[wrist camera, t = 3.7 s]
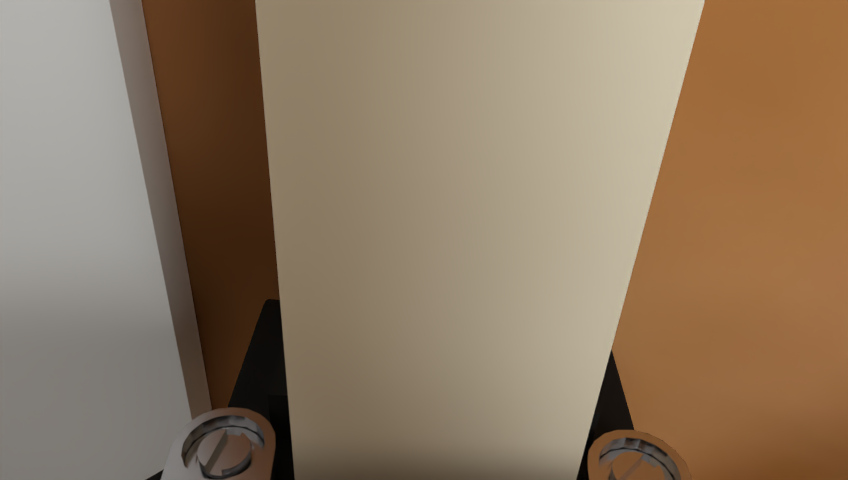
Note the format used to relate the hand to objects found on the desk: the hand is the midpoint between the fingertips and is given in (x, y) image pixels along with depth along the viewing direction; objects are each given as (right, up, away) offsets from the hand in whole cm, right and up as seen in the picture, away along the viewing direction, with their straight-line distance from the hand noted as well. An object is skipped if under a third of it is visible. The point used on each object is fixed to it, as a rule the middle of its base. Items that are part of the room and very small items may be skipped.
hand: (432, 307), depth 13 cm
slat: (0, 0, 0) cm, 0 cm away
